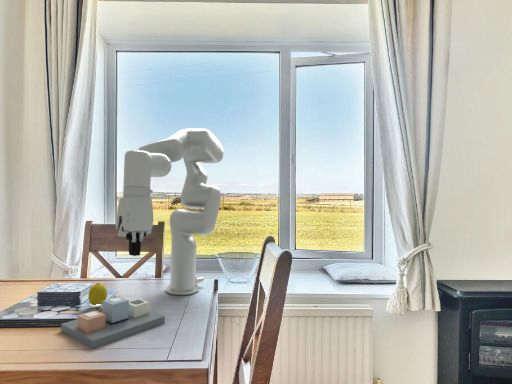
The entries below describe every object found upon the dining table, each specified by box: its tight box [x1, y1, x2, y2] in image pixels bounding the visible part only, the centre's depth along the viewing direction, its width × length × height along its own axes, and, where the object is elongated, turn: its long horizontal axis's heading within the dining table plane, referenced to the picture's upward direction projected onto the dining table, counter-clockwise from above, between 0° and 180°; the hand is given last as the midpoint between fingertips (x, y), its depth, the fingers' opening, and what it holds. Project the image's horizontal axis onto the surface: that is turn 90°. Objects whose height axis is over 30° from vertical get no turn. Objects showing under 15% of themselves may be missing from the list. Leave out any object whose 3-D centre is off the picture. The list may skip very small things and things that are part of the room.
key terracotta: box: [77, 309, 106, 333], centre depth 94 cm, size 5×5×5 cm
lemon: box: [87, 282, 108, 306], centre depth 114 cm, size 6×6×8 cm
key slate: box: [101, 296, 130, 324], centre depth 99 cm, size 5×5×5 cm
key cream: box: [128, 298, 150, 318], centre depth 105 cm, size 5×5×5 cm
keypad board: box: [60, 309, 166, 350], centre depth 99 cm, size 22×16×2 cm
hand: (134, 254), depth 103 cm, fingers closed
